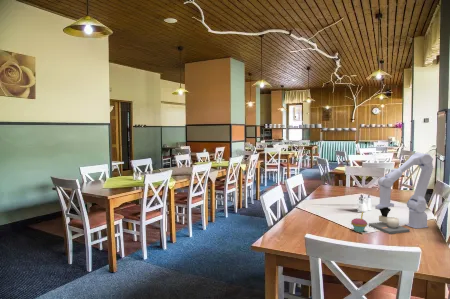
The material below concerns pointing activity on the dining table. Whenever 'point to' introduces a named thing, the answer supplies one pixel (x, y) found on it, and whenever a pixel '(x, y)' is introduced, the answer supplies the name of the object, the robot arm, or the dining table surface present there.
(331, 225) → the dining table surface
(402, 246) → the dining table surface
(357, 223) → the cupcake
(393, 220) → the cream ball joystick
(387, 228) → the post board
